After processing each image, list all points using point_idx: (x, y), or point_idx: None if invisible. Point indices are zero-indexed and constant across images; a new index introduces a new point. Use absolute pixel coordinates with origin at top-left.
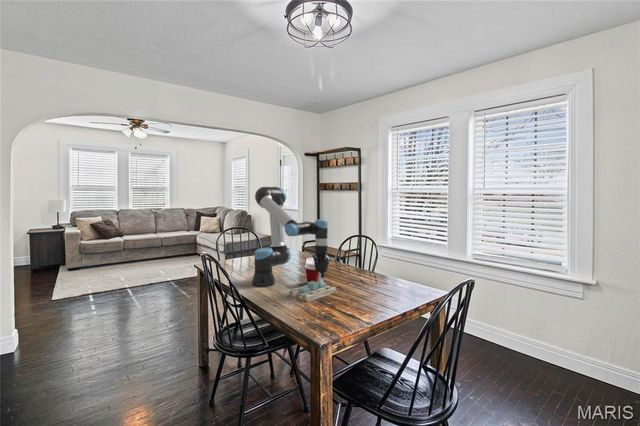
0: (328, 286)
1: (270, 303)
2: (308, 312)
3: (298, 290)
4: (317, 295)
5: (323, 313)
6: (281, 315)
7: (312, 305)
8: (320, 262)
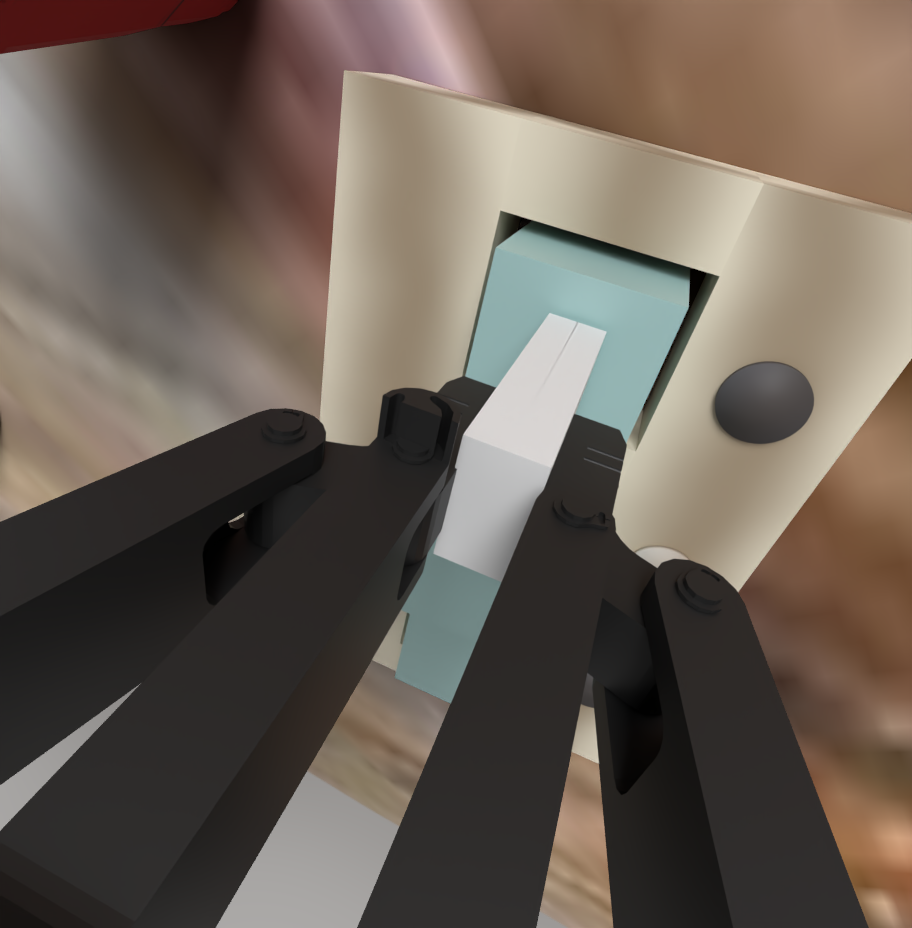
0: (744, 254)
1: (356, 756)
2: None
3: None
4: None
5: (892, 921)
6: (559, 906)
7: None
8: (201, 883)
